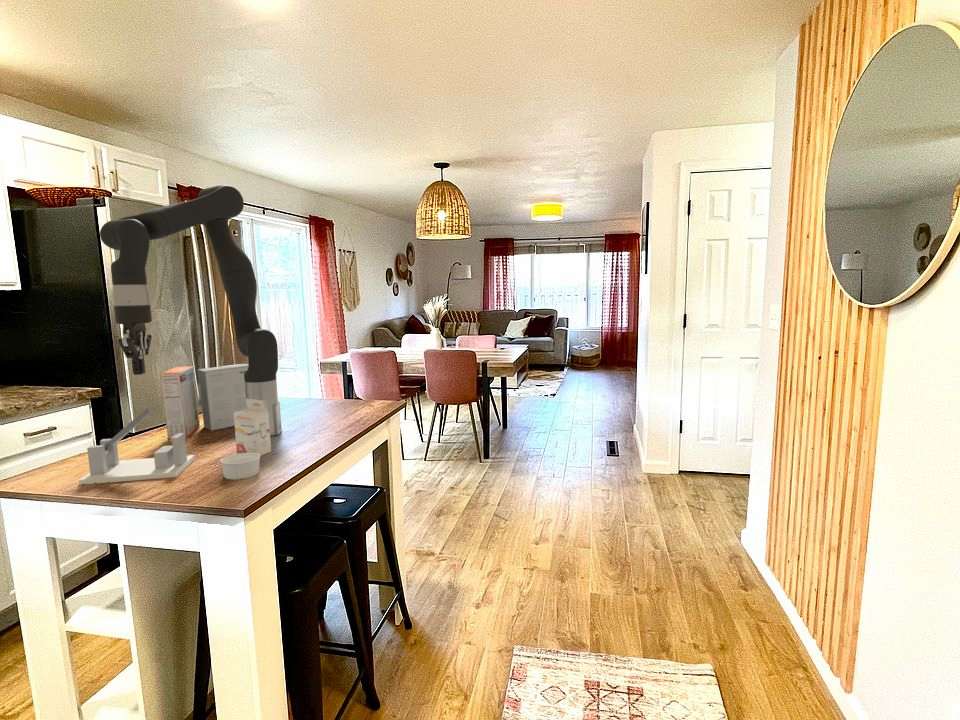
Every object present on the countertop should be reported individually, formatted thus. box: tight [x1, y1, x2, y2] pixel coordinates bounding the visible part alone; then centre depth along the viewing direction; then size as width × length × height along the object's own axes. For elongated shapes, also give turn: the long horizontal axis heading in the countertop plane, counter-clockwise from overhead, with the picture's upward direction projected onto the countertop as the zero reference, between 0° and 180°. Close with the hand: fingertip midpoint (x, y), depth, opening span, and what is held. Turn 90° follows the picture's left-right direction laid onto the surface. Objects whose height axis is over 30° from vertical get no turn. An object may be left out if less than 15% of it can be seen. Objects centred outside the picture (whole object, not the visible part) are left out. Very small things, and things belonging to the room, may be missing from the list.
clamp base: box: [78, 433, 196, 486], centre depth 132 cm, size 21×14×9 cm, turn 101°
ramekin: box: [220, 453, 261, 481], centre depth 129 cm, size 9×9×4 cm
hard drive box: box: [197, 363, 249, 432], centre depth 177 cm, size 16×8×20 cm, turn 133°
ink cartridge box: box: [234, 399, 272, 457], centre depth 145 cm, size 9×5×15 cm, turn 65°
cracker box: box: [159, 365, 201, 440], centre depth 167 cm, size 14×6×21 cm, turn 13°
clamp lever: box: [104, 404, 157, 454], centre depth 131 cm, size 17×4×2 cm
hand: (139, 374), depth 130 cm, fingers closed
